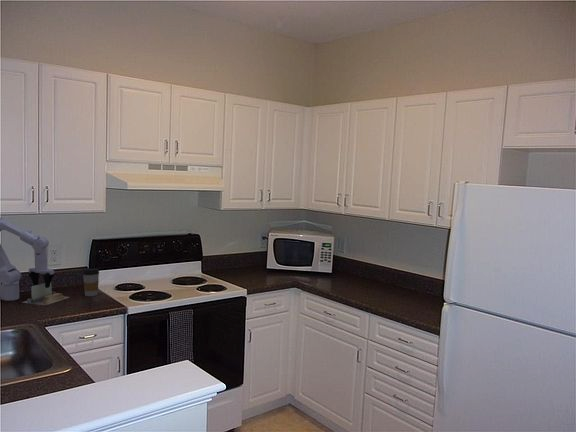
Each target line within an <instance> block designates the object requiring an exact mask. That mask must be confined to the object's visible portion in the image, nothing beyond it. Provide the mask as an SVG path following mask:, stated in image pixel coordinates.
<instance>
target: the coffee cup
mask: <svg viewBox="0 0 576 432" xmlns="http://www.w3.org/2000/svg"><path fill="white" fill-rule="evenodd" d="M82 276H83V277H82V279H83V290H84V291H83V292H84V296H85V297H95V296H98V294H99V292H98V291H99V283H100V282H99V280H100V279H99V277H100V271H99V268H96V267H90V268H84V269H83V272H82Z"/></svg>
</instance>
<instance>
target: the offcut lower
mask: <svg viewBox="0 0 576 432" xmlns="http://www.w3.org/2000/svg"><path fill="white" fill-rule="evenodd" d="M65 297H66V296H65V295H62V297H59V298H56V299H53V300H43V301H44V303H51V304H54V303H57V302H60V301H63V300H65ZM62 299H63V300H62ZM59 300H60V301H59ZM56 301H57V302H56ZM53 302H54V303H53Z"/></svg>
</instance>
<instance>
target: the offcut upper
mask: <svg viewBox="0 0 576 432" xmlns="http://www.w3.org/2000/svg"><path fill="white" fill-rule="evenodd" d="M62 296H63V293H59V292H58V293H57V292H56V294H52V295H49V296H46V297H45V300H53V299H56V298H59V297H62Z"/></svg>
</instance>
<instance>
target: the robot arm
mask: <svg viewBox="0 0 576 432" xmlns="http://www.w3.org/2000/svg"><path fill="white" fill-rule="evenodd" d="M1 231H7V232H8V233H10V234H13V235H15V236H17V237H19V240H20V241H22V242H24V243H25V244H28V245H30V246H31V247H32V248H33V249H32V250H34V267H32V268H28V277H29V278H30V279H31V282H32V284H33V285H32V286H35V285H39V277H40V274H43V275H42V277H43V279H44V283H45V287H46V288H48V287H50V283H51V284H52V279H53V278H54V276H55V270H54V269H50V268H48V246H49V240H48V239H47V238H46V237H44V236H43V237H41V236H40V235H37V234H34V233H33V232H32V231H31V230H22V229H21V228H20V227H17V226H16V225H14V224H13V223H11V222H10V221H8V220H7V219H4V218H2V217H0V232H1ZM20 279H22V273H21V271H20V270H19V269H18V268H17V267H16V266H15V265H13V264H12V263H11V261H10V260H9V257H8V255H7V254H6V251H5V250H4V247H3V246H2V244H1V243H0V283H1V284H0V300H2V301H16V300H18V299H20Z"/></svg>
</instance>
